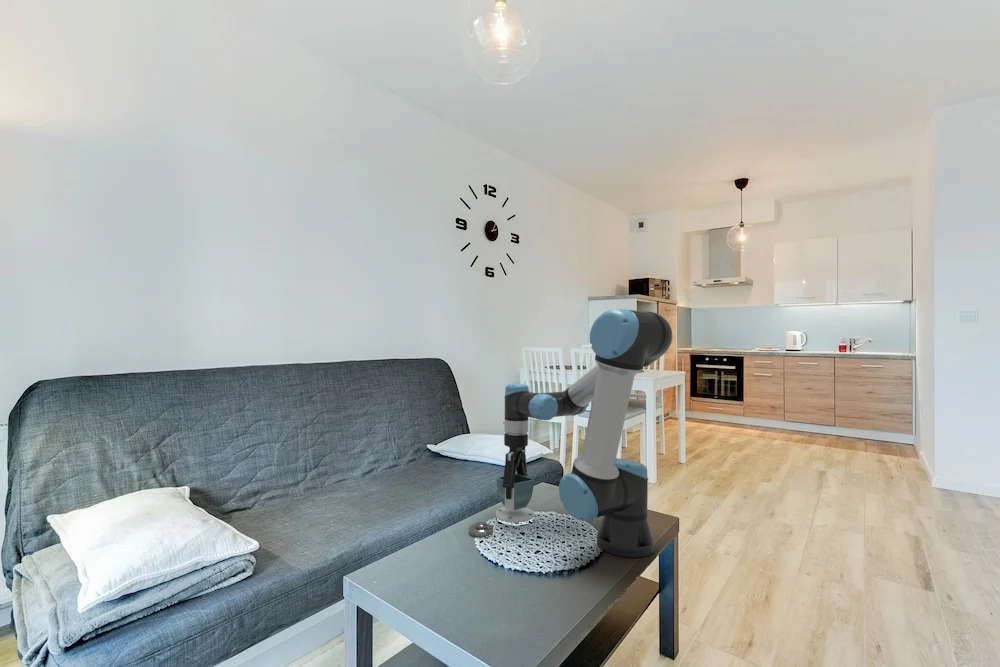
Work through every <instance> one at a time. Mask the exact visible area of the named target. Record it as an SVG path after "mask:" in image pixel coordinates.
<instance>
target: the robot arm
mask: <svg viewBox="0 0 1000 667" xmlns="http://www.w3.org/2000/svg"><path fill="white" fill-rule="evenodd" d="M672 342H673V329H672V327H671V324H670V323H669V321H668V320H667V319H666V318H665V317H664V316H662V315H661V314H659V313H657V312H654V311H653V312H652V311H643V310H633V309H627V308H626V309H625V308H624V309H623V308H618V309H613V308H612V309H608V310H606V311H604V312H602V313H601V314H600V315H598V316H597V318H596V319H595V320H594V322H593V323H592V325H591V328H590V331H589V343H590V344H591V350H592V351H593V352H594V354H595V356H594V361H595V362H596V365H595V366H593V368H591V369H590V370H588V372H586V373H585V374H584V375H583V376H581V377H580V378H579V379H577V380H576V381H575V382H574V383H572V384H571V385H570V386H568V388H566V389H565V390H563V391H553V392H530V389H529V385H528V384H525V383H524V384H523V383H510V384H509V383H508V384H506V385H505V390H504V421H503V422H502V424H503V425H504V432H505V433H504V435H503V436H504V437H503V438H504V439H503V443H504V446H506V447H508V448H509V451H508V452H507V453H505V462H504V470H503V471H504V472H503V476H504V478H503V485H502V487H503V488H505V506H504V507H505V509H509V510H514V488H513V485H514V479H515V474H519V475H522V476H525V477H528V475H529V474H528V468H527V455H526V447H527V446H528V445H529V434H527V433H529V418H532V419H535V420H538V421H550V420H552V419H553V418H558V417H568V416H569V417H570V416H577V415H582V414H583V413H585V412H586V410H587V408H588V405H589V404H590V403H591V406H590V410H589V415H588V421H587V424H586V425H587V426H586V430H585V435H584V439H583V443H582V450H581V453H580V455H578V456H577V457H575V458H574V460H573V463H572V468H571V472H570V473H569V472H567V473H566V474H565V475H563V476H562V477H561V479H560V481H559V484H558V493H559V494H558V495H559V498H560V502H561V503H562V505H563V507H564V510H566V512H567V513H568V514H569V516H571V517H572V518H573V519H575V520H577V521H581V522H582V521H583V522H585V521H590V520H591V521H593V520H596V519H597V518H600V517H602V518H601V522H600V525H599V528H598V530H597V532H596V544H597V546H598V545H599V546H598V548H600V549H601V550H602V551H604V552H607V553H608V554H611V555H614V556H617V557H618V556H619V557H624V558H644V557H647V556H650V555H652V554H653V553H654V552H655V539H654V536H653V534H652V531H651V526H650V524H649V520H648V491H649V490H648V488H649V487H648V485H649V484H648V483H649V482H648V481H649V477H648V469H647V466H646V465H644V463H641V462H638V461H635V460H630V459H626V458H625V459H624V458H618V457H617V455H618V452H619V447H620V442H621V437H622V434H623V433H622V432H623V428H624V424H625V419H626V416H627V410H628V408H629V407H628V406H629V402H630V397H631V394H632V389H633V384H634V379H635V376H636V375H637V374H639V373H640V372H642V371H643V369H644V367H645V368H646V367H649V366H650V365H652V364H653V363H654V362H656V361H657V360H659V359H660V358H661V357H663V355H665V354H666V353H667V352H668V350H669V349H670V347H671V344H672ZM508 483H509V484H508Z"/></svg>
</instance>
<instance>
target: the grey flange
mask: <svg viewBox="0 0 1000 667" xmlns="http://www.w3.org/2000/svg"><path fill="white" fill-rule="evenodd" d="M533 517H534V518H535V512H534V511H533V509H531V508H528V507H527V506H526V507H525V508H521V509H517V510H509V509H505V506H502V507H499V508H497V510H496V511H495V519H496V518H498V519H499V520H501V521H505V522H511V523H512V522H513V523H518V522H525V521H528V520H530V519H532V518H533Z"/></svg>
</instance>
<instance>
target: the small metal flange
mask: <svg viewBox="0 0 1000 667" xmlns="http://www.w3.org/2000/svg"><path fill="white" fill-rule="evenodd" d="M492 533H493V534H494V526H493V525H491V524H489V523H488V522H484V521H477V522H475V523H473V524H471V525H469V527H468V535H469V536H471V537H473V538H476V537H486V536H489V535H491V534H492ZM491 536H492V535H491ZM489 537H490V536H489ZM486 538H487V537H486Z"/></svg>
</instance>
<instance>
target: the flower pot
mask: <svg viewBox="0 0 1000 667" xmlns="http://www.w3.org/2000/svg"><path fill="white" fill-rule="evenodd" d="M503 478H504V475H503V476H498V477H496V483H497V484H496V485H497V493H498V498H499V499H500V502H501V504H502V505H503V507H505V488H503V487H502V485H503ZM508 484H509V483H508ZM534 484H535V479H534V478H531V477H528V476H527V477H525V476H522V475H519V474H517V473H516V474H515V479H514V485H513V488H514V510H517V509H521V508H525V507H526V508H527V506H528V504H529V503H530V501H531V499H532V496H533V492H534V486H535V485H534Z"/></svg>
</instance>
